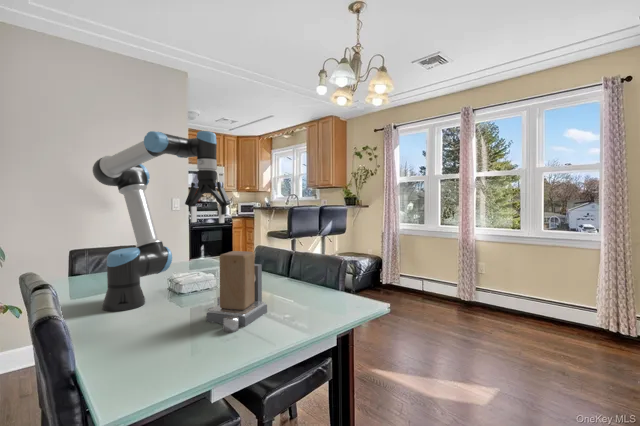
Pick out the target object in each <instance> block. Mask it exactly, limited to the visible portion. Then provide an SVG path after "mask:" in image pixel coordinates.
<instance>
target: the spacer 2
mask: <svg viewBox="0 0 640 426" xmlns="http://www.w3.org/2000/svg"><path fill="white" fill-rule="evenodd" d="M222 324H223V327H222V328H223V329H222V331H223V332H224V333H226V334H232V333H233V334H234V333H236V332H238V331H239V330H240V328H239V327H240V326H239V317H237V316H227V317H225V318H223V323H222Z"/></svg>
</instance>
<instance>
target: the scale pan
mask: <svg viewBox="0 0 640 426" xmlns="http://www.w3.org/2000/svg"><path fill="white" fill-rule="evenodd" d="M265 304H266V302H265V301H262V302H260V301H254V303H253V304H251V305H250V306H249V307H247V308H246V309H244V310H237V309H224V308H220V305H218V306H217V305H215V306H213V307H212V308H209V309H208V312H209V313H216V314H223V315H231V316H239V317H246V316H248V315H249V314H251V313H253V312H254V311H256V310H257V309H259V308H261V307H262V306H264V305H265Z"/></svg>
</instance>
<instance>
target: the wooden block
mask: <svg viewBox="0 0 640 426" xmlns="http://www.w3.org/2000/svg"><path fill="white" fill-rule="evenodd" d="M254 264H255V252H253V251H242V250H241V251H239V250H232V251H228V252H225V253H221V254H220V255H219V297H220V308H224V309H237V310H244V309H246V308H247V307H249V306H250V305H251V304H253V303H254V301H255V279H254Z"/></svg>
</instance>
